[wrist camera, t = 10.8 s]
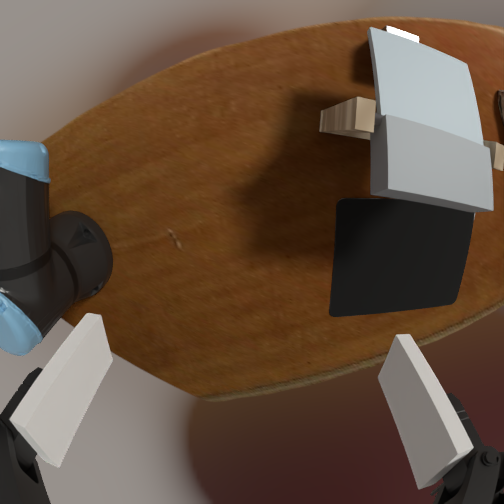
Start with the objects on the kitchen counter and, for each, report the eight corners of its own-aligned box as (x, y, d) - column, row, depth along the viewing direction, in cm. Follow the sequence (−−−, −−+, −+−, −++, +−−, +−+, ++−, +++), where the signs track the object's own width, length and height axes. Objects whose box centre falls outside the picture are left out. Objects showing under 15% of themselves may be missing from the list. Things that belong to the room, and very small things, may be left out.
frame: (319, 131, 36) (353, 128, 23) (320, 110, 35) (356, 96, 21) (439, 156, 37) (503, 171, 23) (440, 138, 35) (505, 146, 22)
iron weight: (373, 64, 32) (373, 35, 30) (403, 72, 32) (403, 44, 30) (387, 56, 28) (386, 25, 26) (419, 67, 28) (418, 36, 26)
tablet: (476, 203, 39) (455, 303, 46) (474, 202, 39) (453, 302, 47) (336, 198, 40) (328, 317, 47) (335, 197, 40) (328, 315, 48)
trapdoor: (475, 213, 26) (497, 211, 22) (362, 193, 26) (379, 187, 22) (459, 75, 25) (475, 63, 21) (355, 39, 25) (366, 20, 21)
